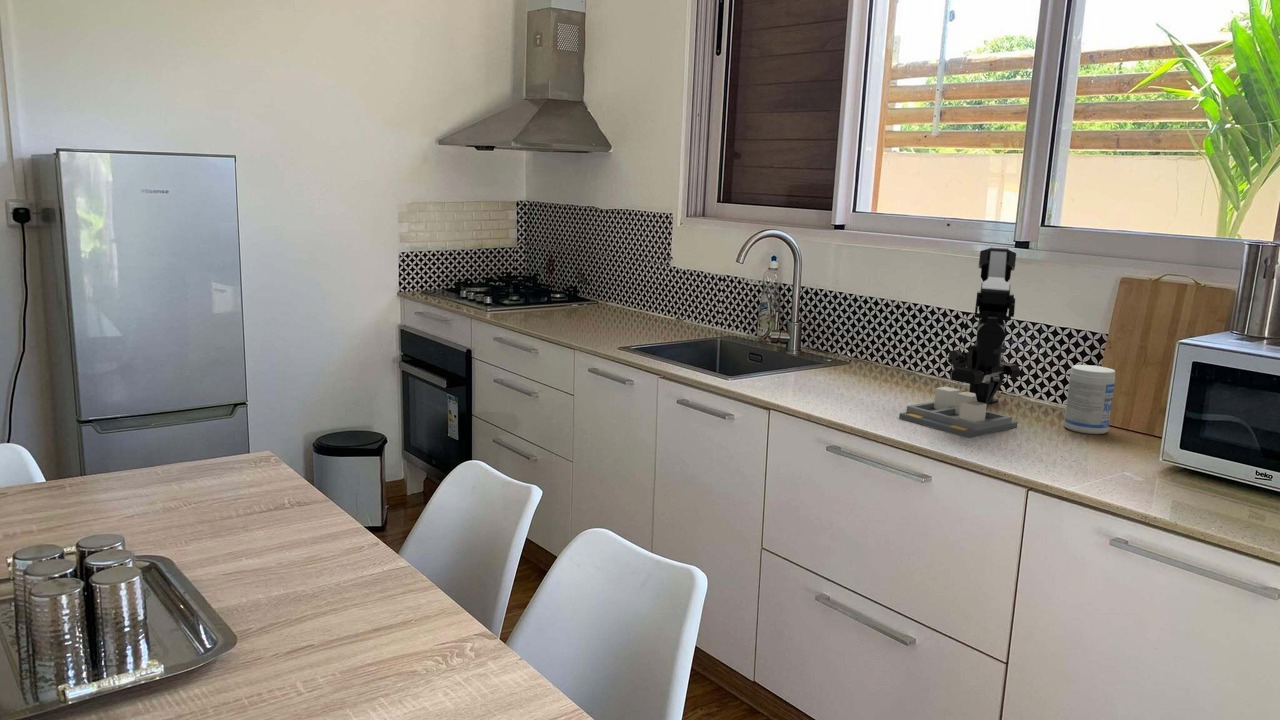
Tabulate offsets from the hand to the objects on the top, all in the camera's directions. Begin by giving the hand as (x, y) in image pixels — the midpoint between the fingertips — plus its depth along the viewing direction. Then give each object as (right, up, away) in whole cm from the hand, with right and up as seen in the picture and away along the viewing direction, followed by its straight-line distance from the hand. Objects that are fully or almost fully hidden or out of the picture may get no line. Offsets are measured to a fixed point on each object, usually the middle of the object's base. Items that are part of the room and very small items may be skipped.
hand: (981, 409), depth 218 cm
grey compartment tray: (-4, -3, +6) cm, 8 cm away
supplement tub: (+26, -5, +4) cm, 27 cm away
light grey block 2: (-3, -3, -1) cm, 5 cm away
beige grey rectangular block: (-4, -1, +12) cm, 13 cm away
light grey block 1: (-1, -2, +8) cm, 8 cm away
